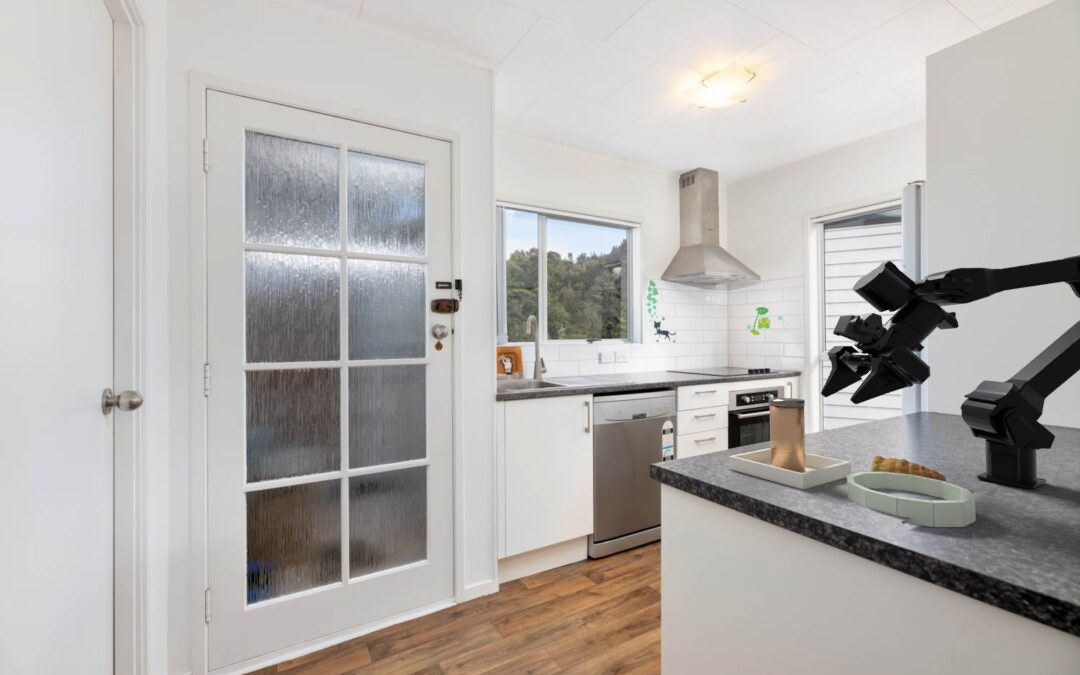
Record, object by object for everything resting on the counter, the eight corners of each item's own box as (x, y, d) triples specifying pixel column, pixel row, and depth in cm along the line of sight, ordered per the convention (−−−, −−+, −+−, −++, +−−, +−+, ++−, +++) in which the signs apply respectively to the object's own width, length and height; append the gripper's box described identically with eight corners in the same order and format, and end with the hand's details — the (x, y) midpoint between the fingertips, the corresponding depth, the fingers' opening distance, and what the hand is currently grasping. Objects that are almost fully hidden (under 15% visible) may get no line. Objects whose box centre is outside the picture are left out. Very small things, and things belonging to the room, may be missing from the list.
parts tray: (776, 462, 87) (776, 446, 87) (851, 480, 75) (850, 462, 75) (729, 473, 80) (728, 456, 80) (803, 494, 69) (802, 474, 69)
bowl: (876, 486, 72) (876, 467, 72) (991, 513, 60) (990, 490, 60) (828, 501, 66) (827, 480, 66) (945, 535, 54) (945, 510, 54)
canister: (782, 466, 82) (781, 397, 82) (813, 473, 77) (811, 400, 77) (763, 470, 79) (761, 399, 79) (793, 478, 74) (791, 402, 74)
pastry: (947, 484, 73) (946, 460, 73) (944, 495, 68) (943, 470, 68) (875, 473, 80) (874, 451, 80) (867, 482, 75) (867, 459, 75)
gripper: (836, 302, 86) (777, 363, 87) (905, 292, 67) (828, 368, 68) (883, 343, 85) (822, 404, 86) (965, 343, 66) (887, 421, 67)
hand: (837, 398), depth 77 cm, fingers open, 9 cm apart
